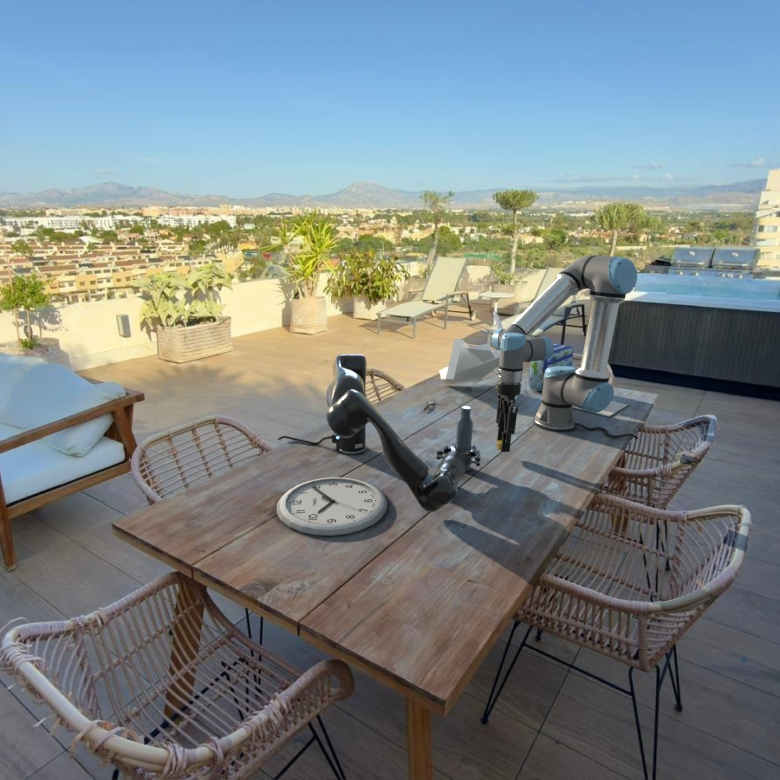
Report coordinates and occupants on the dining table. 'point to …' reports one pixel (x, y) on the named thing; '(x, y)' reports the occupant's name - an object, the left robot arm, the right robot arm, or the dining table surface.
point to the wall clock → (331, 506)
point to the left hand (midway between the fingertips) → (465, 446)
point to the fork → (430, 403)
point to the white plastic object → (473, 362)
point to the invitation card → (610, 408)
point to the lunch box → (549, 365)
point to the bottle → (464, 431)
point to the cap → (499, 444)
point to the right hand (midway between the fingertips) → (503, 448)
